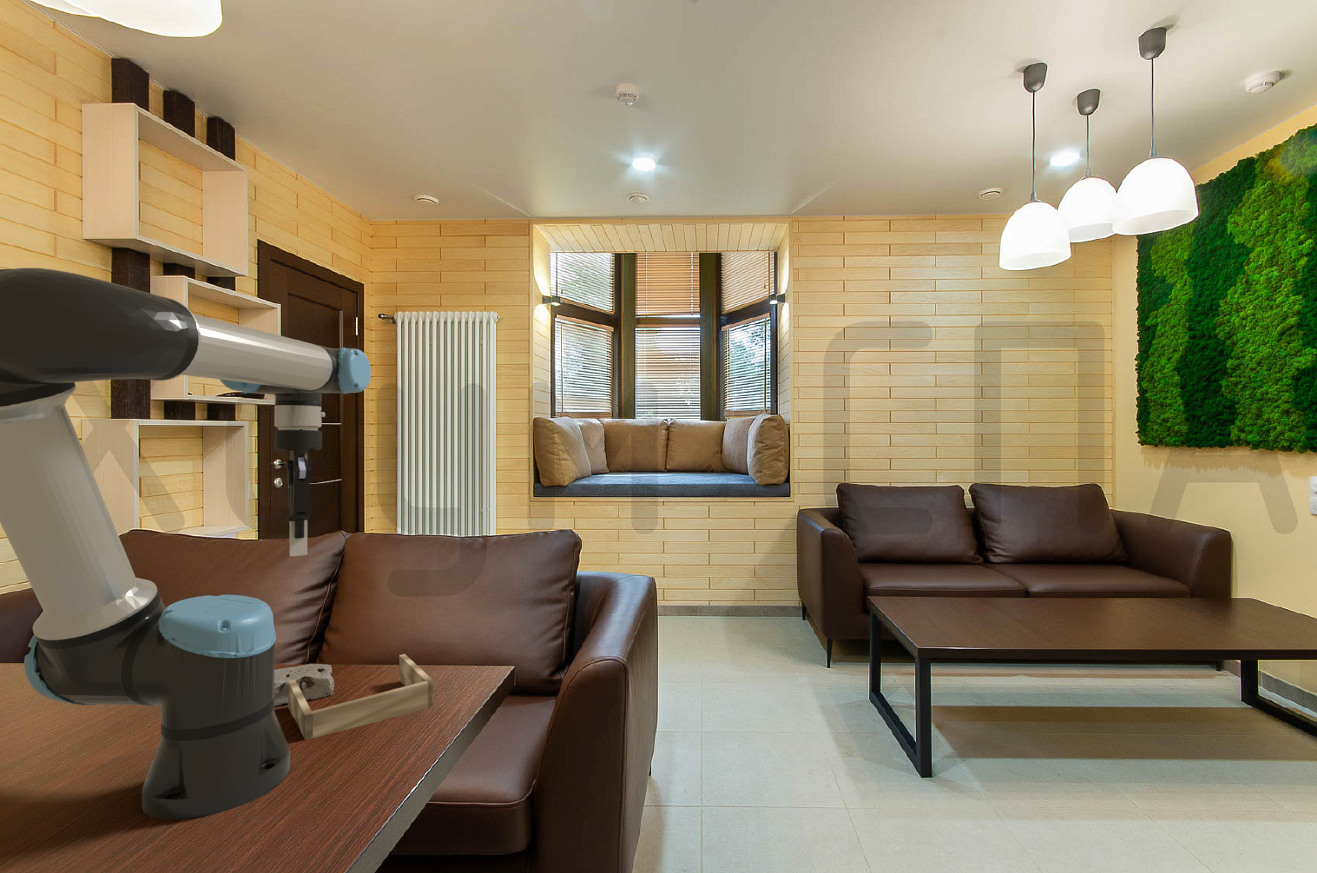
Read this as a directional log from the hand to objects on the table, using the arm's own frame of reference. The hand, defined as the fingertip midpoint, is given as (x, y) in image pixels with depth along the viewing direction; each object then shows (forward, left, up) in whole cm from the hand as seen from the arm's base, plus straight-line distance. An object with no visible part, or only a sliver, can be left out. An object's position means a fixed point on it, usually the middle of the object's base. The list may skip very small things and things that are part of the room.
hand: (298, 554), depth 109 cm
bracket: (-19, -6, -25) cm, 31 cm away
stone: (-11, +1, -22) cm, 24 cm away
